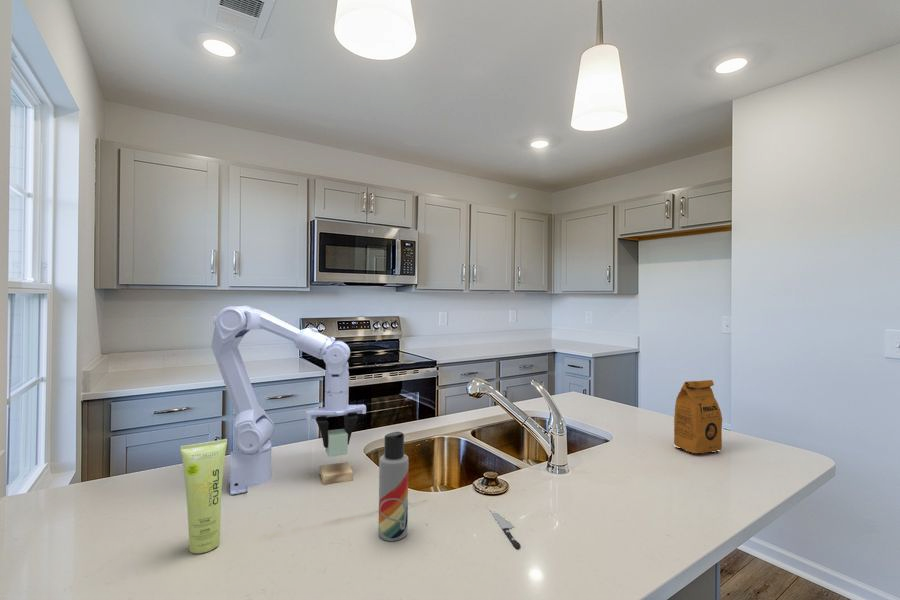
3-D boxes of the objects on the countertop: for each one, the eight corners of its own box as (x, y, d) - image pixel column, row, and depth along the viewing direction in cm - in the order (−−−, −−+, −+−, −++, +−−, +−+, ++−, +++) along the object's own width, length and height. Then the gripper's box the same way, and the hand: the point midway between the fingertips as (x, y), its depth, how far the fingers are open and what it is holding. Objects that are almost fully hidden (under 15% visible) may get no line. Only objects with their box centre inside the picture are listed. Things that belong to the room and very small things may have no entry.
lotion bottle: (395, 545, 81) (396, 439, 81) (372, 535, 84) (373, 434, 84) (413, 531, 86) (414, 431, 86) (391, 523, 89) (392, 426, 89)
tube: (200, 559, 76) (201, 449, 76) (178, 553, 77) (179, 445, 77) (226, 541, 81) (227, 438, 81) (205, 536, 83) (206, 435, 83)
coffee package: (727, 455, 131) (729, 382, 130) (693, 458, 128) (695, 384, 127) (701, 443, 140) (702, 376, 140) (669, 446, 137) (670, 377, 137)
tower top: (323, 484, 103) (323, 476, 103) (319, 473, 109) (319, 465, 109) (352, 480, 106) (352, 472, 106) (347, 469, 112) (347, 461, 112)
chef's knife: (495, 503, 99) (483, 503, 99) (495, 498, 99) (483, 498, 99) (530, 550, 81) (515, 551, 80) (530, 544, 81) (516, 545, 80)
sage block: (328, 456, 104) (329, 436, 104) (325, 450, 108) (325, 430, 108) (347, 454, 106) (347, 434, 106) (343, 448, 110) (343, 428, 110)
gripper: (309, 396, 100) (308, 454, 100) (369, 391, 107) (369, 445, 107) (304, 390, 107) (303, 445, 107) (362, 385, 113) (361, 437, 113)
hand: (336, 444), depth 107 cm, fingers closed on sage block, 4 cm apart
